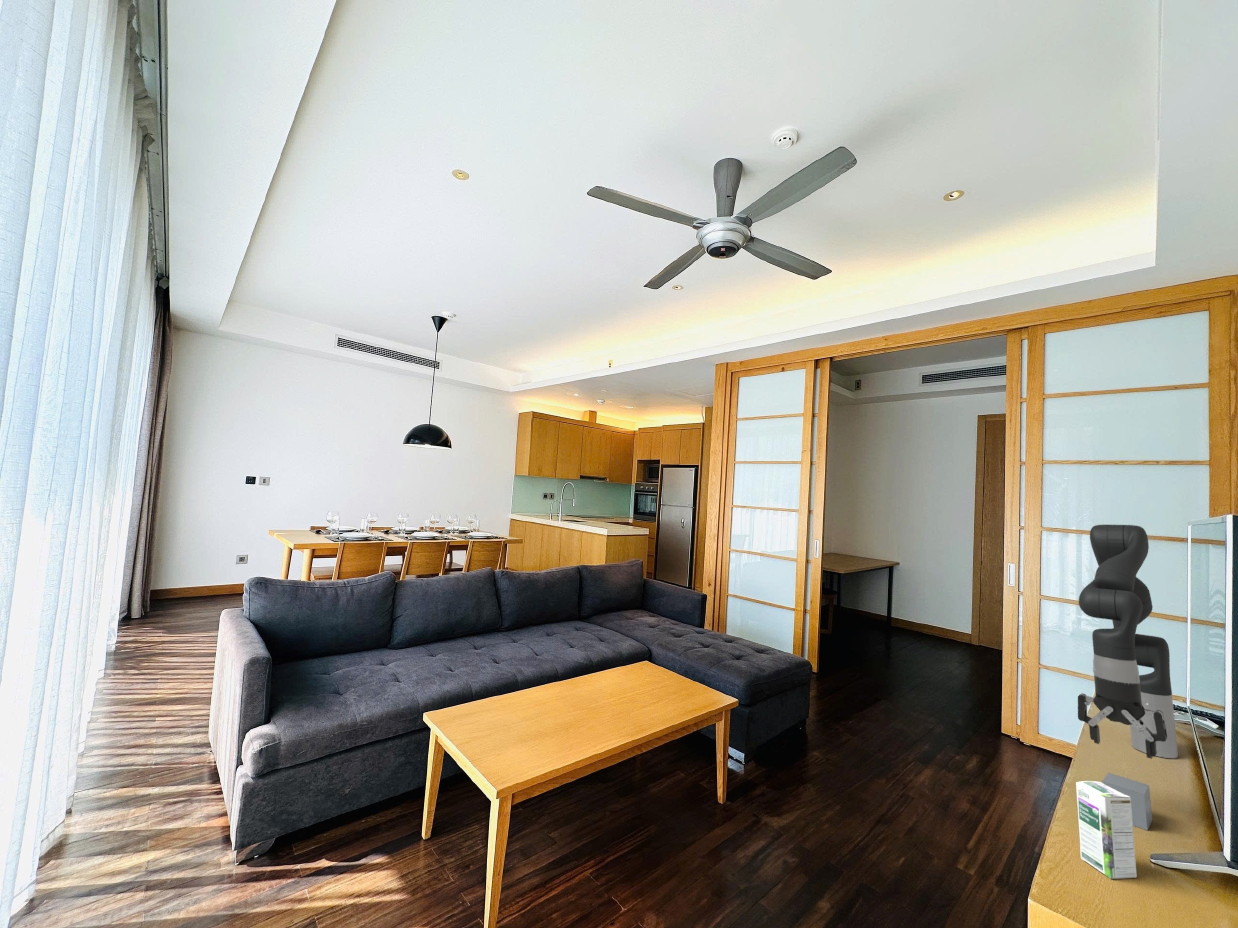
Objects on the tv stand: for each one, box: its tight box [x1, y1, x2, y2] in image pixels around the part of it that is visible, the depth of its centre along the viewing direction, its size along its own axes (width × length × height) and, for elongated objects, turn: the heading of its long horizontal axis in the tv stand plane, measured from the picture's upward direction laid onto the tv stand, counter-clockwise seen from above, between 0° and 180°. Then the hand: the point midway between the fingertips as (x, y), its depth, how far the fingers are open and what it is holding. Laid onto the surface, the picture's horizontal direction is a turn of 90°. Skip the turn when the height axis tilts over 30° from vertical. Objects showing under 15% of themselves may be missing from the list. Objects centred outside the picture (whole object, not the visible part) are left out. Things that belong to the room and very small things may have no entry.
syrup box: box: [1075, 780, 1138, 880], centre depth 95 cm, size 6×6×14 cm
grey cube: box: [1101, 772, 1153, 831], centre depth 111 cm, size 7×7×7 cm
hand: (1122, 749), depth 112 cm, fingers open, 8 cm apart
